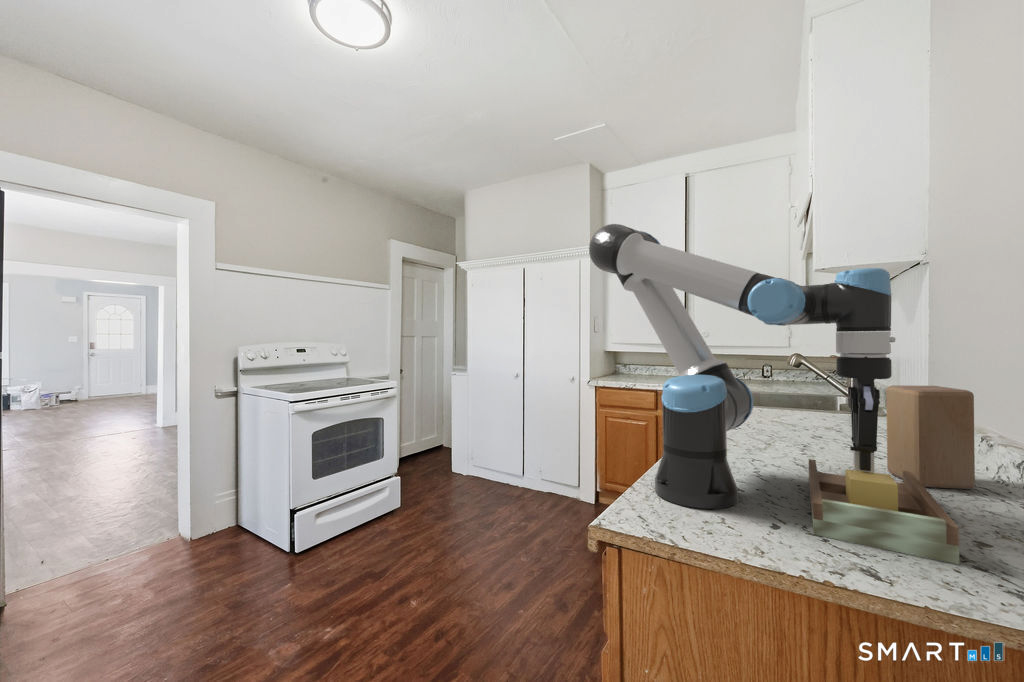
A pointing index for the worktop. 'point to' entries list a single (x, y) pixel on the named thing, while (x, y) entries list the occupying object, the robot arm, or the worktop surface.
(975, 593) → the worktop surface
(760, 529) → the worktop surface
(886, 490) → the ochre block
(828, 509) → the tray
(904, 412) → the block
